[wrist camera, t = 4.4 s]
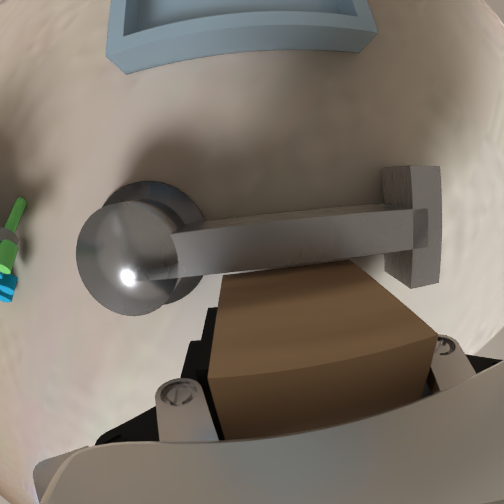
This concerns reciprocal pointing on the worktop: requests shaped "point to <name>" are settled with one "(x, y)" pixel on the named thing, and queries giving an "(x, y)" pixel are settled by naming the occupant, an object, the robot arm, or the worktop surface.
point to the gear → (9, 251)
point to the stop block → (312, 350)
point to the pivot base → (174, 201)
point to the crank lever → (258, 241)
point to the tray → (231, 28)
